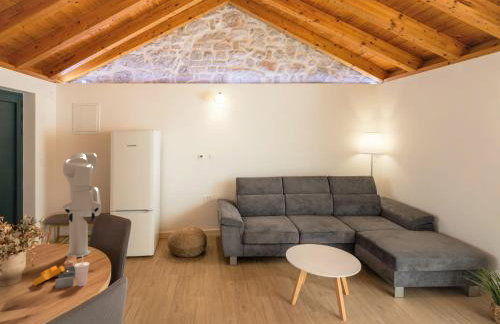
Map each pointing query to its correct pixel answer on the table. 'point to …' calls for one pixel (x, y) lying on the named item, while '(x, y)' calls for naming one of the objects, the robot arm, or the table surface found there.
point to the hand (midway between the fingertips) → (82, 220)
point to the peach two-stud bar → (70, 261)
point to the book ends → (65, 278)
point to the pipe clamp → (48, 274)
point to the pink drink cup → (81, 272)
